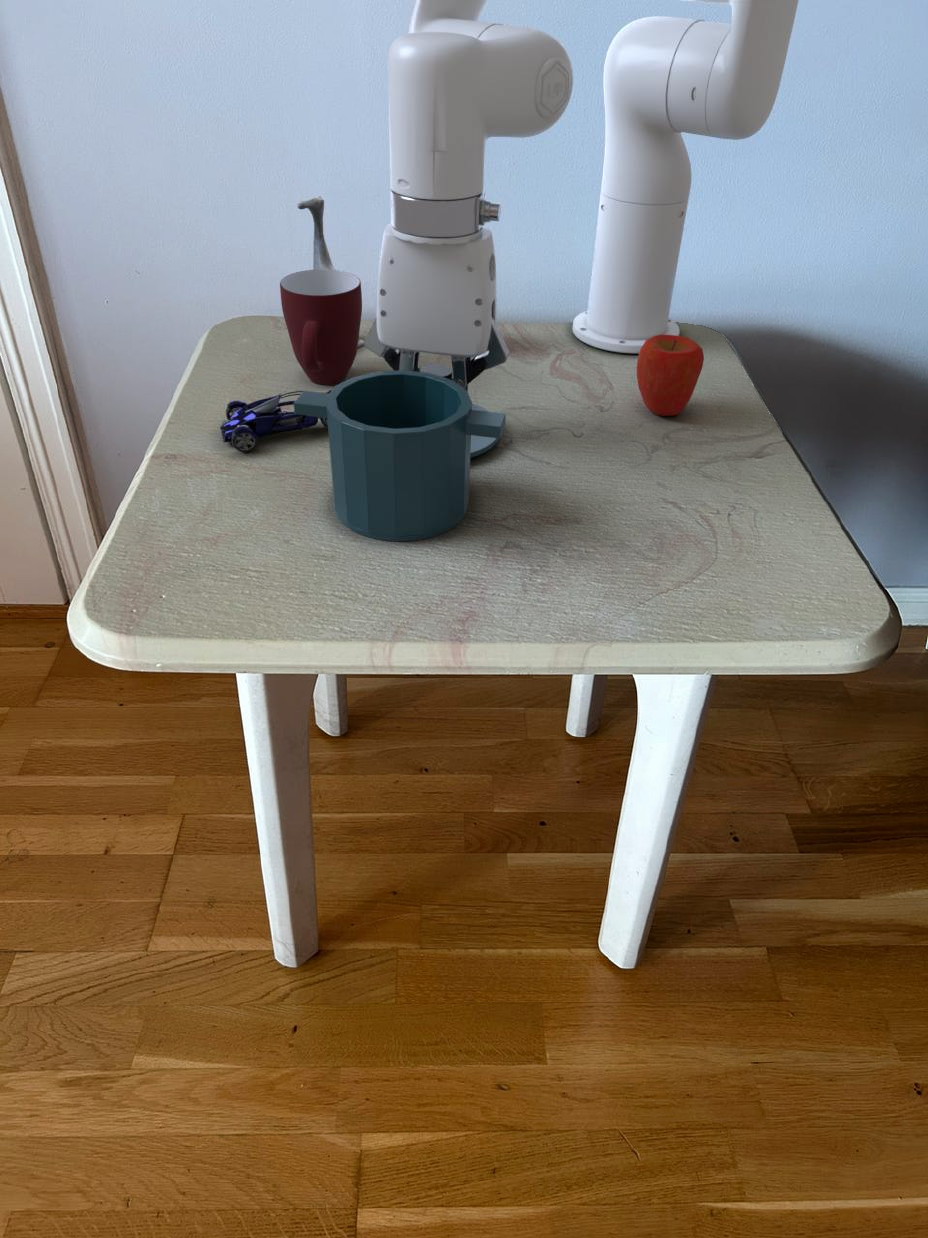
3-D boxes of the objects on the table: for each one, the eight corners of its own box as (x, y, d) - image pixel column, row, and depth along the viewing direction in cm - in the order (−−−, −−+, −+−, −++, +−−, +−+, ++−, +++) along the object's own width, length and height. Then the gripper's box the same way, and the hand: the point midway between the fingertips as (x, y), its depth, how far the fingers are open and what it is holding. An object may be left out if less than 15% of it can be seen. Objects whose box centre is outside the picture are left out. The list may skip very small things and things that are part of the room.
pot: (328, 461, 81) (320, 360, 75) (508, 484, 79) (515, 381, 73) (284, 526, 72) (271, 418, 67) (485, 554, 70) (490, 444, 64)
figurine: (373, 361, 99) (367, 217, 90) (315, 365, 98) (303, 220, 88) (358, 325, 107) (351, 190, 98) (304, 329, 106) (292, 192, 97)
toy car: (224, 455, 81) (218, 415, 79) (218, 424, 86) (212, 386, 84) (354, 440, 84) (352, 401, 82) (341, 411, 89) (339, 373, 87)
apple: (618, 408, 91) (628, 336, 86) (655, 392, 94) (667, 322, 90) (667, 430, 88) (681, 356, 83) (705, 412, 91) (720, 341, 86)
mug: (361, 404, 90) (356, 305, 84) (280, 403, 90) (269, 304, 84) (367, 362, 99) (363, 269, 92) (294, 361, 98) (285, 268, 92)
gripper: (542, 210, 75) (526, 413, 86) (354, 194, 77) (363, 394, 89) (529, 234, 69) (514, 449, 80) (326, 217, 71) (340, 428, 83)
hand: (435, 418), depth 84 cm, fingers closed on lid, 3 cm apart
